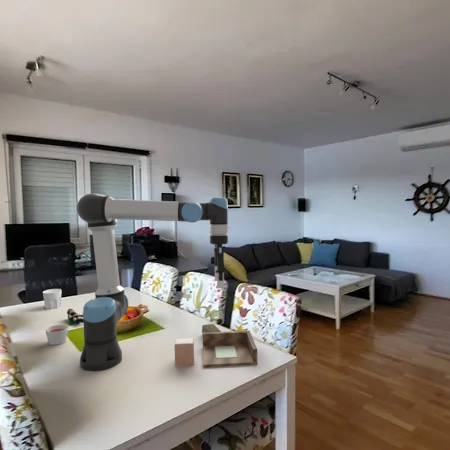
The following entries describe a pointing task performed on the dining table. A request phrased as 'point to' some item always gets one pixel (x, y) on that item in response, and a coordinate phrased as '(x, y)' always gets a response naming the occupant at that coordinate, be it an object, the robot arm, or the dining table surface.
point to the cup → (52, 298)
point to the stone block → (209, 328)
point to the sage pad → (225, 352)
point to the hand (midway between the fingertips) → (219, 284)
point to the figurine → (74, 317)
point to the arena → (238, 339)
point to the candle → (57, 334)
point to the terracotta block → (184, 351)
